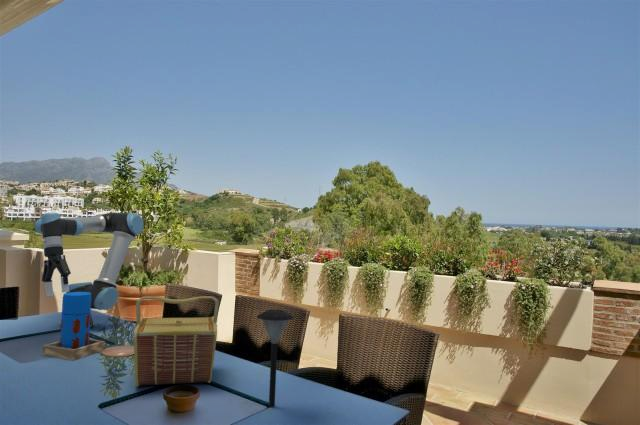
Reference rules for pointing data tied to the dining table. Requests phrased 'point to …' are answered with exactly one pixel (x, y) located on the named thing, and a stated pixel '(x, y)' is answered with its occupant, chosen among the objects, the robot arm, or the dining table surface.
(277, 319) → the solar garden light
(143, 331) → the picnic basket
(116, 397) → the dining table surface
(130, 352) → the saucer
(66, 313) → the thermos
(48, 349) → the square frame
